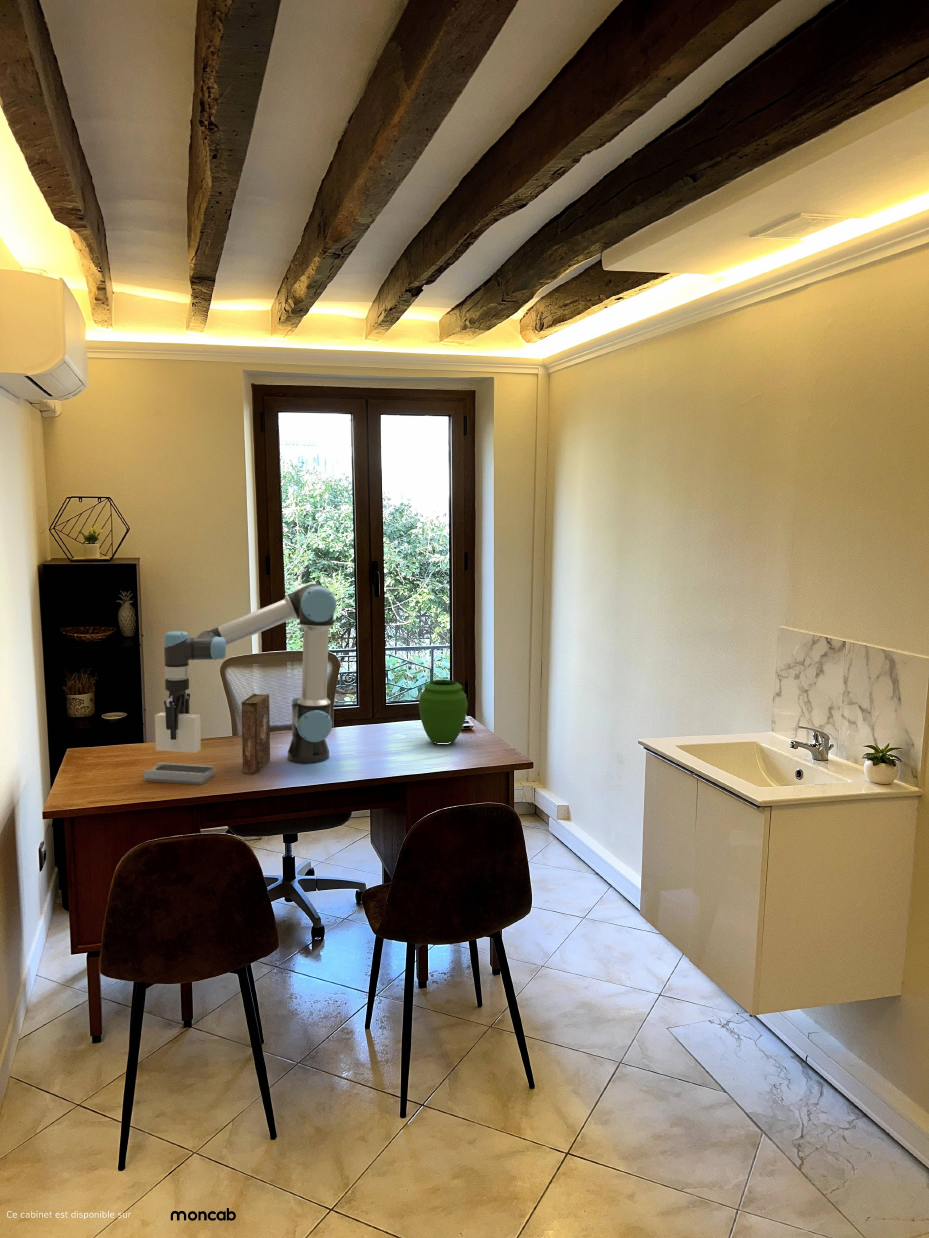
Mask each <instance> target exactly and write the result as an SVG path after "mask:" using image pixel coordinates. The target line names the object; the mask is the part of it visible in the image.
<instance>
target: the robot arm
mask: <svg viewBox="0 0 929 1238" xmlns="http://www.w3.org/2000/svg"><path fill="white" fill-rule="evenodd" d="M336 609H337V600H336V598H335V595H334V594H333V592H332V591H331V590H330V589H329V588H328V587H326V586H323V585H321V584H319V583H309V584H306V585H305V586H302V587H301V588H298V589H297V590H295V591H293V592H290V593H288V594H286V595H285V597H284V598H283V599H282V600H279V601H277V602H275V603H271V604H269V605H267V606H265V607H261V608H260V609H259V608H258V609H257V610H254V611H252V612H250V613H248V614H245V615H242V616H240V617H239V618H238V617H237V618H236V619H234V620H231V621H229V622H226V623H224V624H221V625H218V626H217V627H214V628H212V629H209V630H204V631H201V633H199V634H197V637H190V636H189V633H188V631H184V630H183V631H179V630H176V631H175V630H174V631H167V633H165V634H164V637H163V638H164V642H163V643H164V645H163V647H164V650H163V652H164V654H163V655H164V676H165V680H164V688H165V691H167V692H168V693H169V694H168V699H167V700H164V701H163V704H164V711H165V712H164V713H165V714H166V729H167V730H170V743H171V749H179V729H177V728H178V715H179V714H190V700H191V693H189V692H187V691H188V690H189V689H190V679H189V677H190V666H189V665H190V663H189V661H194V660H195V661H199V660H200V661H205V660H206V661H207V660H208V661H209V660H214V661H216V660H224V659H225V658H226V656H227V654H226V653H227V651H226V650H227V647H229V646H230V645H233V644H236V643H237V642H241V641H242V640H245V639H247V638H250V637H252V636H254V635H257V634H259V633H261V632H264V631H266V630H268V629H272V628H273V627H276V626H278V625H281V624H284V623H285V622H287V621H290V620H293V619H294V620H296V621H297V620H299V625H300V627H301V628H302V629H303V641H302V647H303V648H302V673H301V674H302V677H301V696H299V695H298V696H295V697H293V698H292V699H291V718H292V719H291V722H292V723H291V725H292V727H291V730H292V731H291V733H292V735H291V736H292V737H291V740H290V743H289V747H288V750H287V759H288V761H290V762H294V763H298V764H310V763H311V764H312V763H319V762H324V761H326V760H328V759H329V758H330V750H329V749H330V748H329V746H328V743H327V740H326V738H327V737H328V736H329V735H330V734H331V731H332V729H333V722H332V721H333V720H332V717H331V710H332V709H331V706H332V703H331V700H330V699H329V698H328V697H327V695H328V693H327V692H328V691H327V690H328V664H329V663H328V662H329V661H328V660H329V659H328V657H329V634H330V633H329V630H330V629H331V628H332V627H333V626H334V620H335V619H334V618H335V617H334V615H335V612H336Z"/></svg>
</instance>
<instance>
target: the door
mask: <svg viewBox="0 0 929 1238" xmlns="http://www.w3.org/2000/svg"><path fill="white" fill-rule="evenodd" d="M154 724H155V725H154V728H155V729H154V730H155V731H154V732H155V751H161V752H173V753H174V752H176V753H189V754H190V753H192V754H194V753H195V754H196V753H198V752H199V751H201V749H202V743H201V741H202V739H201V738H202V737H201V735H202V734H201V714H191V713H189V714H179V715H178V728H177V729H179V749H171V743H170V730H167V729H166V714H165V712H159V713H157V714H155V715H154Z"/></svg>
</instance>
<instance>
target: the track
mask: <svg viewBox="0 0 929 1238" xmlns="http://www.w3.org/2000/svg"><path fill="white" fill-rule="evenodd" d="M143 773H144V774H143V775H144V776H143V777H144V782H152V783H153V782H154V783H170V784H185V785H199V786H201V785H203V784H205V782H207V781H209V780H210V779H213V777H215V766H214V765H205V764H204V765H203V764H189V763H188V764H187V763H173V762H157V763H156V766H155V767H154V768H152V769H145V770H144V772H143Z"/></svg>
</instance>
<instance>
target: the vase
mask: <svg viewBox="0 0 929 1238" xmlns="http://www.w3.org/2000/svg"><path fill="white" fill-rule="evenodd" d="M468 707H469V704H468V698H467V694H466V693H465V691H463V686H462V685H461V683H459V682H458V681H455V680H451V679H435V680H431V681H429V682H428V683H427V684H425V685H424V690H423V691H422V692H421V693H420V696H419V700H418V709H419V717H420V722H421V724H422V727H423V730H424V732H425V734H426V736H427V738H428V739H429V740H430V742H431V743H433V742H436V743H449V742H453V741H454V742H455V741H456V740H457V739H458V737H459V736H460V734H461V732H462V730H463V727H464V725H465V721H466V717H467V712H468ZM454 742H453V743H454Z"/></svg>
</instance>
